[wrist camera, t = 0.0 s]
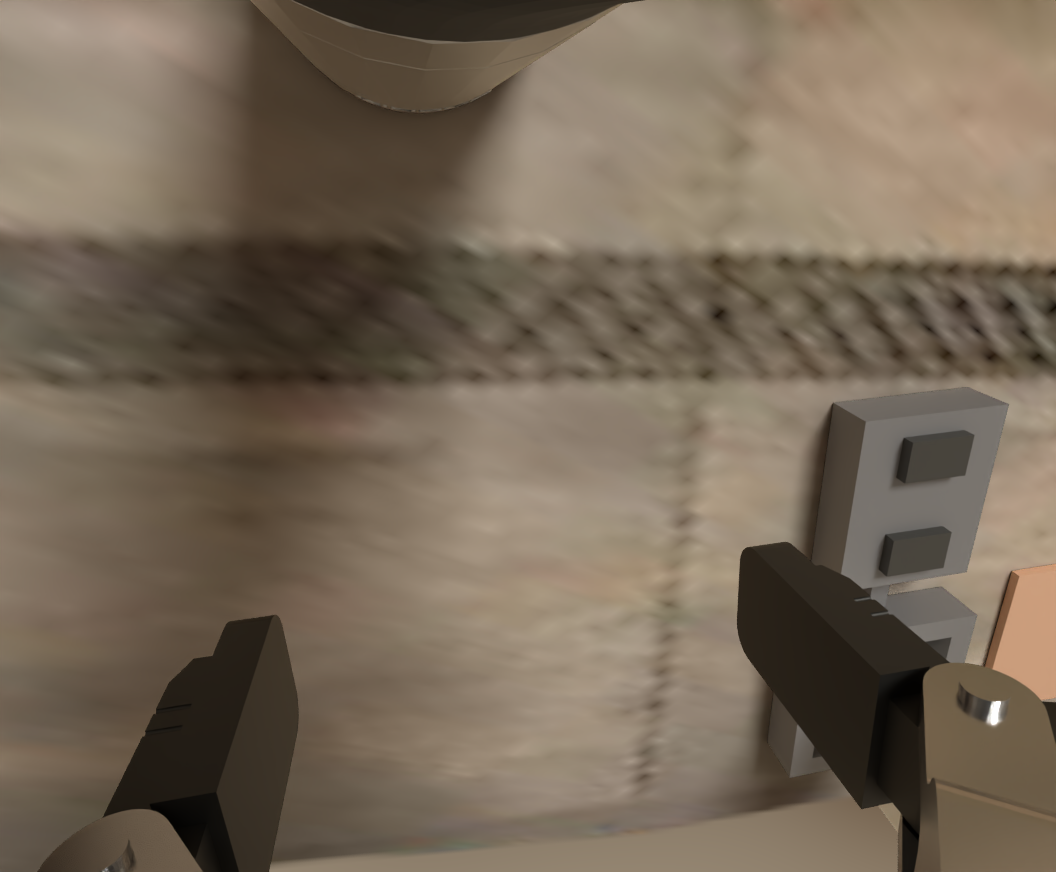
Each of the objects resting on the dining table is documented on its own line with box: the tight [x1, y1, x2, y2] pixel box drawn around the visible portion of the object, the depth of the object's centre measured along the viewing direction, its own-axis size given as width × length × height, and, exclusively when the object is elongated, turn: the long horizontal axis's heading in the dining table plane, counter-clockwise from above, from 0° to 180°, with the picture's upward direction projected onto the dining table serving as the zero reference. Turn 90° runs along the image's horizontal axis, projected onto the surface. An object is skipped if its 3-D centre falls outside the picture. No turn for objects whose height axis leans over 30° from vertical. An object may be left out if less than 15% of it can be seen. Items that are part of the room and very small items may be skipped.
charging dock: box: [767, 387, 1009, 778], centre depth 35 cm, size 21×9×3 cm, turn 3°
